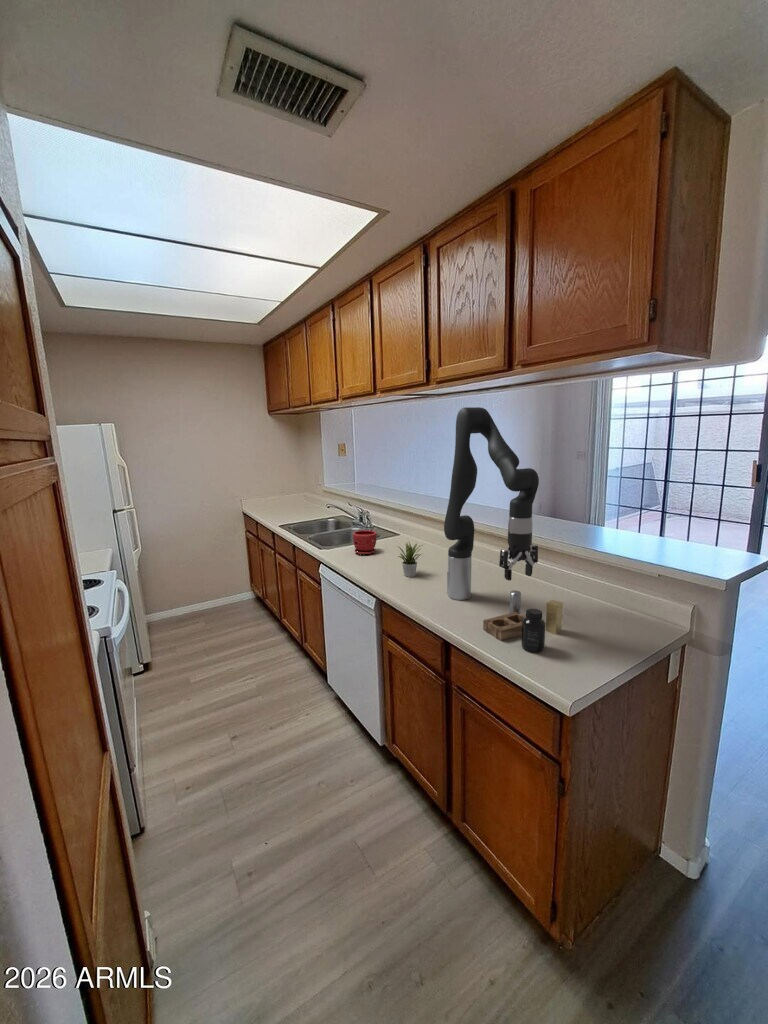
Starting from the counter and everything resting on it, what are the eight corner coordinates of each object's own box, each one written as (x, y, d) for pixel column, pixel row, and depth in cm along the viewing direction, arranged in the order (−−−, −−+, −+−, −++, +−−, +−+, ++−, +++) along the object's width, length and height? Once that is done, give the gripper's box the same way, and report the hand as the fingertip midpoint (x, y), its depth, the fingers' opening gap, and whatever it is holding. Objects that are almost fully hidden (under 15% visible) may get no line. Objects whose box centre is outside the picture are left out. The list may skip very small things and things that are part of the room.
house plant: (433, 576, 199) (433, 542, 196) (411, 583, 190) (410, 547, 187) (413, 568, 210) (413, 536, 207) (391, 575, 202) (390, 541, 199)
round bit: (507, 618, 153) (508, 591, 151) (515, 615, 155) (516, 589, 153) (514, 621, 150) (515, 595, 148) (522, 619, 152) (523, 593, 150)
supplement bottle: (549, 648, 131) (550, 612, 129) (535, 655, 128) (537, 618, 125) (530, 640, 137) (531, 605, 135) (516, 646, 133) (517, 610, 131)
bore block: (482, 629, 145) (482, 620, 144) (515, 621, 151) (515, 611, 150) (500, 641, 137) (500, 631, 136) (534, 631, 143) (534, 621, 142)
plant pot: (377, 556, 233) (376, 534, 231) (353, 556, 233) (352, 535, 230) (377, 549, 246) (376, 529, 243) (354, 550, 246) (353, 529, 243)
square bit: (545, 630, 143) (546, 602, 141) (551, 627, 145) (552, 599, 143) (555, 634, 140) (557, 605, 138) (561, 631, 143) (562, 602, 141)
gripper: (528, 525, 145) (526, 571, 148) (494, 530, 139) (493, 577, 142) (545, 529, 138) (543, 577, 141) (510, 535, 132) (509, 584, 136)
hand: (518, 577), depth 142 cm, fingers open, 8 cm apart
